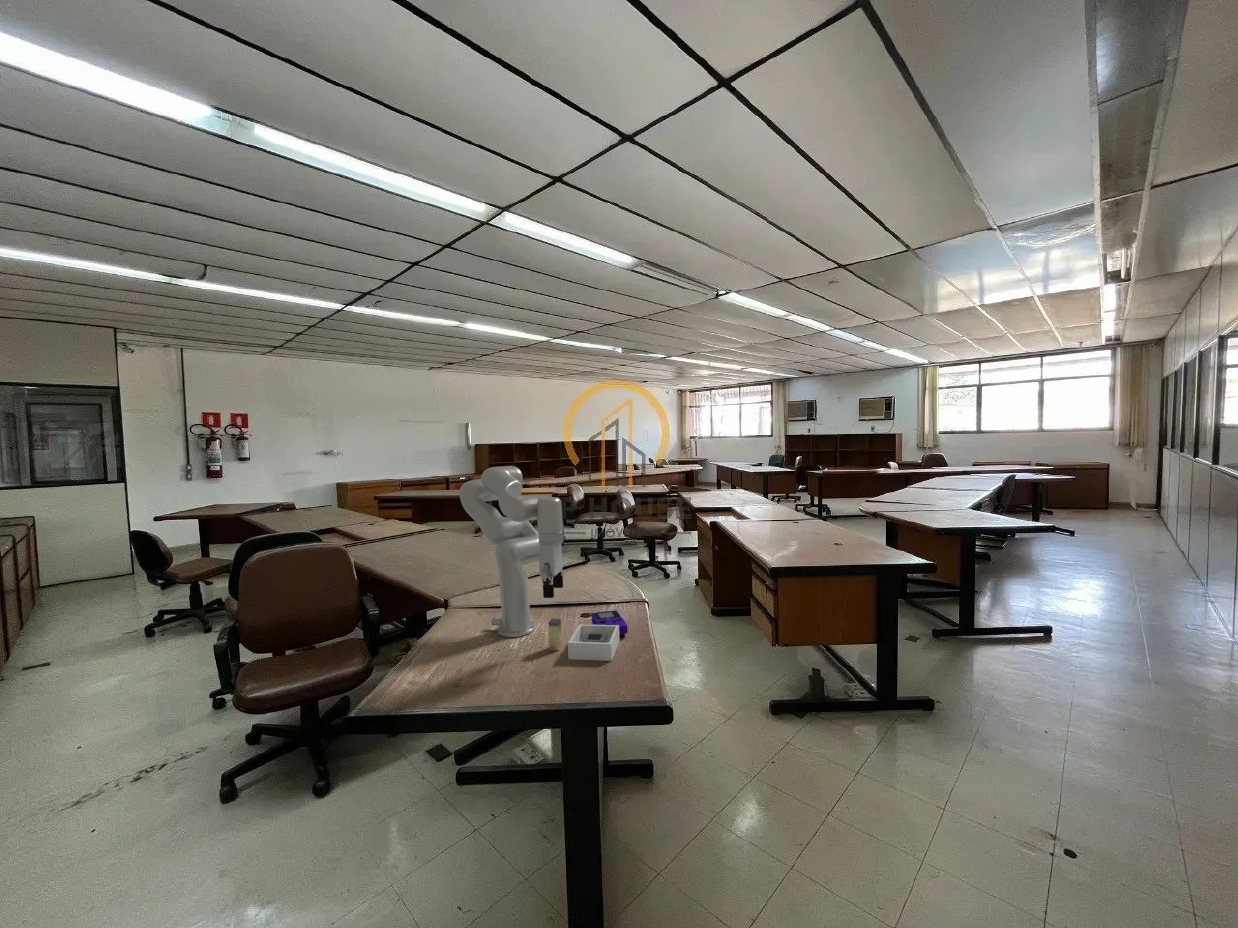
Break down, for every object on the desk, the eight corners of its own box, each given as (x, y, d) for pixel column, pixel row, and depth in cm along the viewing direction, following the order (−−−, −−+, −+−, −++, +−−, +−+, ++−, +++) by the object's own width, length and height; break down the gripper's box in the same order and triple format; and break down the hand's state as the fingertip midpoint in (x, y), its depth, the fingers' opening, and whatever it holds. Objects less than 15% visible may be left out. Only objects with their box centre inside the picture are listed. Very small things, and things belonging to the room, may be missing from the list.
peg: (549, 650, 146) (548, 622, 145) (552, 646, 148) (551, 618, 148) (559, 650, 145) (557, 622, 145) (561, 646, 148) (560, 618, 148)
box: (568, 659, 139) (567, 642, 139) (580, 639, 153) (579, 624, 152) (611, 660, 137) (611, 643, 137) (619, 640, 151) (619, 625, 150)
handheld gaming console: (600, 627, 151) (591, 611, 165) (600, 643, 151) (591, 626, 165) (628, 623, 153) (616, 608, 167) (628, 639, 153) (617, 623, 168)
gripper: (547, 532, 154) (550, 584, 155) (529, 543, 137) (532, 601, 138) (570, 532, 153) (572, 584, 154) (554, 543, 136) (557, 601, 137)
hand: (553, 592), depth 146 cm, fingers open, 9 cm apart
